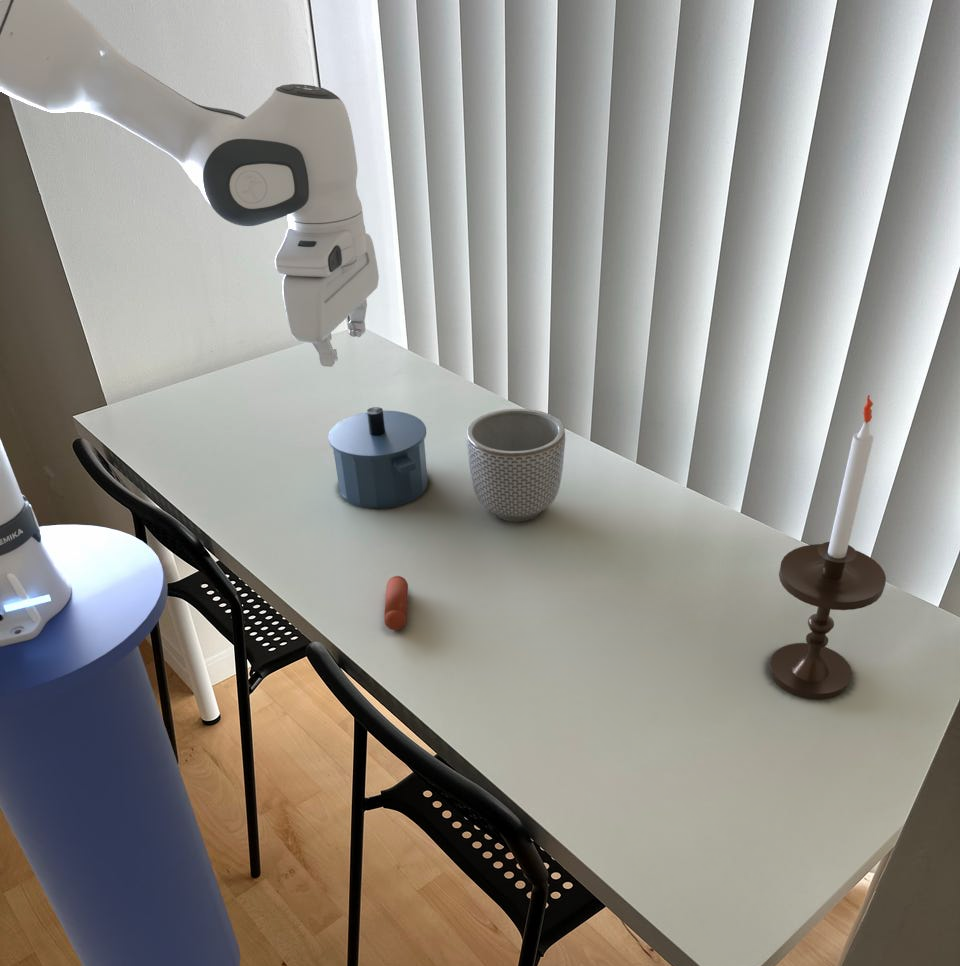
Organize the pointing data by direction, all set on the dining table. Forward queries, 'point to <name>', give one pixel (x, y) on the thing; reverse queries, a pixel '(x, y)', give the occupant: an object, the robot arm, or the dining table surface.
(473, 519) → the dining table surface
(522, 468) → the planter
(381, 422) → the lid
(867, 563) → the candlestick
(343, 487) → the pot
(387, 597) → the sausage
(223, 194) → the robot arm
